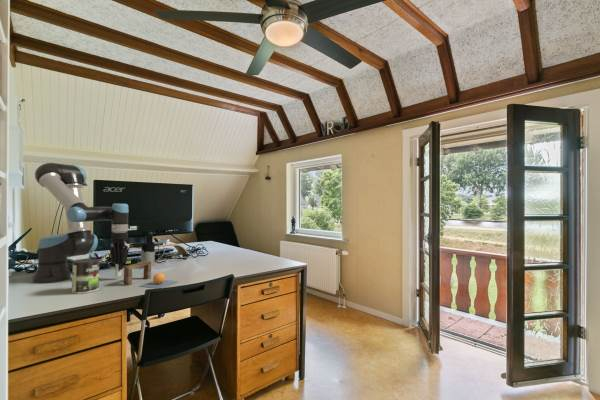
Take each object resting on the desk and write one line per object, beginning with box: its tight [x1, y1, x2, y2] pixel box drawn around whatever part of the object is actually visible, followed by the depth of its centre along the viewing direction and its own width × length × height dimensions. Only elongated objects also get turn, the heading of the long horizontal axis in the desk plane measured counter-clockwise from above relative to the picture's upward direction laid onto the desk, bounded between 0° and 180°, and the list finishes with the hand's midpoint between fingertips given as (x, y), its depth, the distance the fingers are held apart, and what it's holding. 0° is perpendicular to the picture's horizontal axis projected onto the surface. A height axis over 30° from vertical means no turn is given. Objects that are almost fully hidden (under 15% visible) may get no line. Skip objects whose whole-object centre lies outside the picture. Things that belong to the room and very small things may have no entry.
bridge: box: [123, 261, 152, 286], centre depth 149 cm, size 3×14×9 cm, turn 164°
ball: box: [152, 272, 166, 284], centre depth 146 cm, size 6×6×6 cm
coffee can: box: [71, 258, 100, 295], centre depth 133 cm, size 10×10×14 cm
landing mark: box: [139, 279, 179, 289], centre depth 146 cm, size 13×13×1 cm
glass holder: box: [139, 242, 166, 270], centre depth 184 cm, size 9×14×15 cm, turn 115°
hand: (118, 275), depth 153 cm, fingers closed
